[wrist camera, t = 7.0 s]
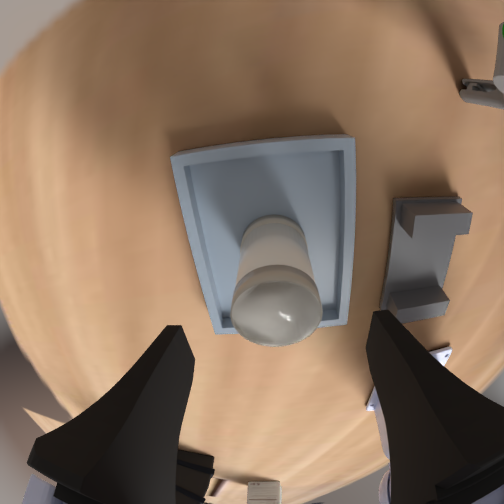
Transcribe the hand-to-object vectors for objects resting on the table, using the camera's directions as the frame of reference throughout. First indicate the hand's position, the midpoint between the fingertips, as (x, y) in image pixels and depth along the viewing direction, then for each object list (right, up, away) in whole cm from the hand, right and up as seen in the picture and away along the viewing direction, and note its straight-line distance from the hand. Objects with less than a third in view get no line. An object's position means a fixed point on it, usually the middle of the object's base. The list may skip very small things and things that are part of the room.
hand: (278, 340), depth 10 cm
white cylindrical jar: (0, +4, +6) cm, 7 cm away
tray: (0, +4, +7) cm, 8 cm away
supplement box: (+2, -51, +39) cm, 64 cm away
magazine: (-14, -30, +28) cm, 43 cm away
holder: (+10, +3, +7) cm, 13 cm away
